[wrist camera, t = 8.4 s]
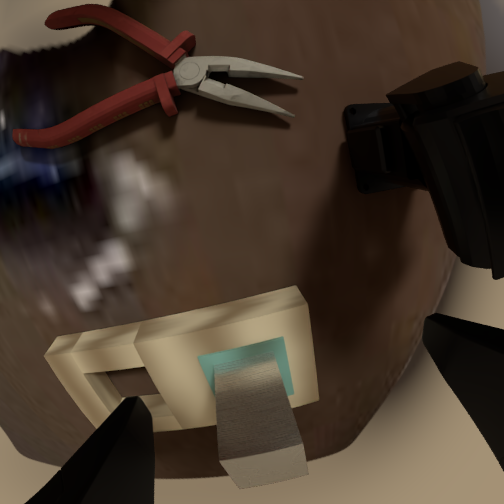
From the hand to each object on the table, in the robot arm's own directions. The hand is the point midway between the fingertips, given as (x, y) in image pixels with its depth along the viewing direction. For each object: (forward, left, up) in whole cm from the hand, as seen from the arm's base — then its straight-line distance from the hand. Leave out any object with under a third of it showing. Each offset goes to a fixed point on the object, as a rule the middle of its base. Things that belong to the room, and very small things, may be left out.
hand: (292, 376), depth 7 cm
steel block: (+2, +9, -10) cm, 13 cm away
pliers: (+5, -12, -14) cm, 19 cm away
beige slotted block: (+7, +9, -13) cm, 17 cm away
